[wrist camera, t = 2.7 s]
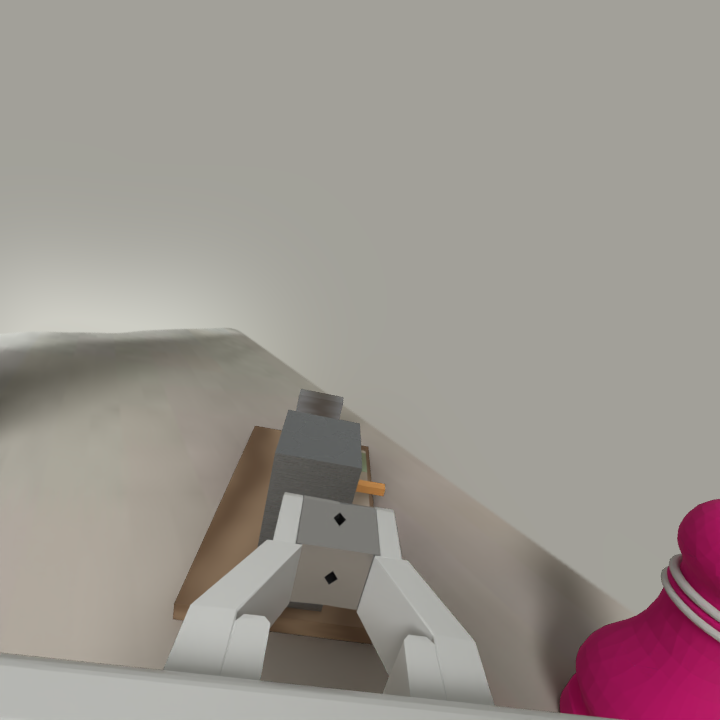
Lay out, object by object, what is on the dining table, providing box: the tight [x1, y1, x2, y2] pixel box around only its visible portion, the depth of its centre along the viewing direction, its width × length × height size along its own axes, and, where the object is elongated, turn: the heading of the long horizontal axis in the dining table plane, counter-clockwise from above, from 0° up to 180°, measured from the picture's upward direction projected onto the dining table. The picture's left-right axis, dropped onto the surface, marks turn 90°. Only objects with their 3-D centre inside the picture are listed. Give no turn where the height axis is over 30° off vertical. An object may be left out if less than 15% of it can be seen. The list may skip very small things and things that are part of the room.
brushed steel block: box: [257, 410, 362, 612], centre depth 28 cm, size 5×10×12 cm, turn 1°
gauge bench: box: [173, 389, 374, 644], centre depth 34 cm, size 14×22×8 cm, turn 1°
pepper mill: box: [560, 499, 720, 720], centre depth 20 cm, size 7×7×20 cm
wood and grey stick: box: [356, 480, 385, 496], centre depth 35 cm, size 9×2×2 cm, turn 91°
